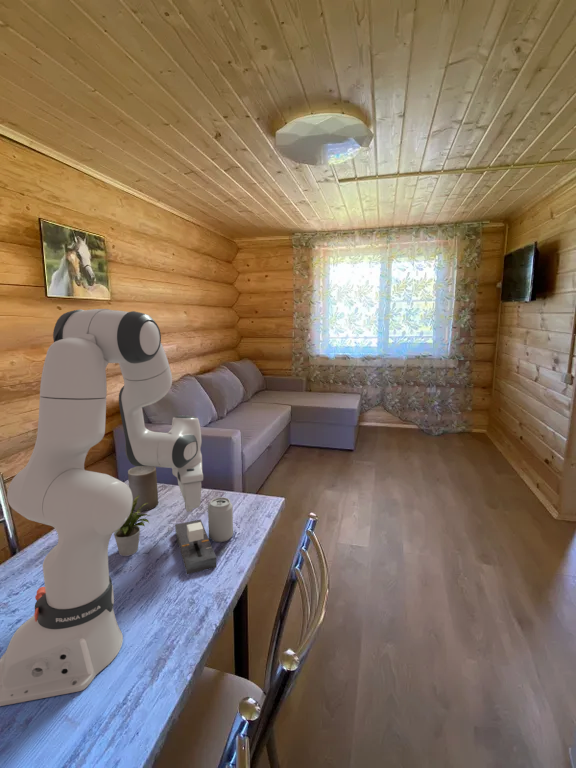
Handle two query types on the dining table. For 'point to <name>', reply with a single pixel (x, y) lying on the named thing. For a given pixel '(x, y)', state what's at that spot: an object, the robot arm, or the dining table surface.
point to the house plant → (130, 532)
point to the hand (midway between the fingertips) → (188, 509)
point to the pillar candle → (144, 486)
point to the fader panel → (195, 550)
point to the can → (220, 519)
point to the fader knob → (195, 532)
